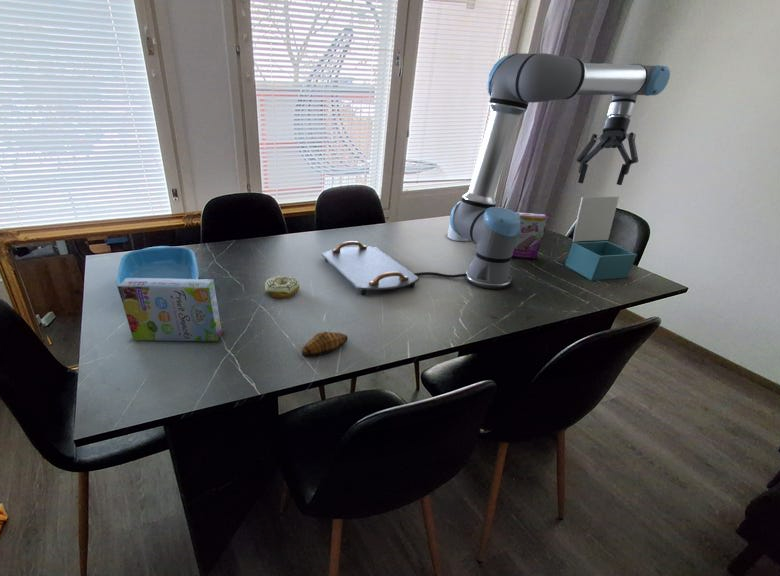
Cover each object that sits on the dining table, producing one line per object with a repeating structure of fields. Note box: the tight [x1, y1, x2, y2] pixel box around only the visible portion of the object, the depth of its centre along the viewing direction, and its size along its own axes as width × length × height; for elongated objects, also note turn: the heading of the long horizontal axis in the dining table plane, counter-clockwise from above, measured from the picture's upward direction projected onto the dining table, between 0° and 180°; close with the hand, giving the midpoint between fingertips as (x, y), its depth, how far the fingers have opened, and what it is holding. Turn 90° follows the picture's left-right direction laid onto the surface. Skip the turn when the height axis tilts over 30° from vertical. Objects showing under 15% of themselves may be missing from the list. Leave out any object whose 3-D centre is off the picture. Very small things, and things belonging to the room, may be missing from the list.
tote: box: [564, 240, 638, 281], centre depth 154 cm, size 15×16×9 cm
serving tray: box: [321, 240, 420, 296], centre depth 145 cm, size 39×23×6 cm, turn 25°
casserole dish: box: [115, 245, 200, 288], centre depth 129 cm, size 37×22×7 cm, turn 21°
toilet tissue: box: [447, 222, 470, 242], centre depth 181 cm, size 11×12×10 cm
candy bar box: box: [512, 211, 549, 260], centre depth 162 cm, size 11×5×16 cm, turn 84°
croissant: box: [301, 330, 349, 358], centre depth 103 cm, size 14×7×5 cm, turn 128°
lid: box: [571, 196, 620, 243], centre depth 154 cm, size 15×16×1 cm
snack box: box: [117, 278, 223, 342], centre depth 103 cm, size 21×6×15 cm, turn 92°
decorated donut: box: [264, 275, 300, 299], centre depth 130 cm, size 10×11×4 cm
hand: (599, 183), depth 153 cm, fingers open, 13 cm apart
